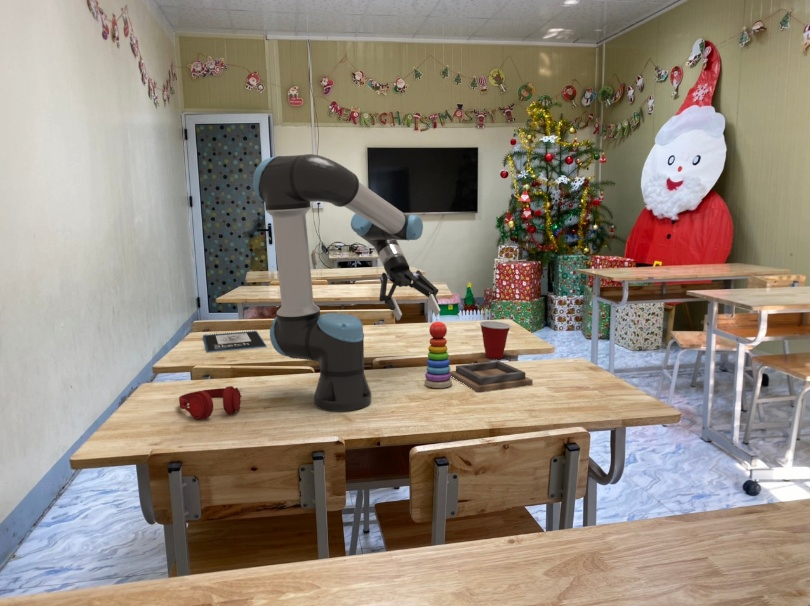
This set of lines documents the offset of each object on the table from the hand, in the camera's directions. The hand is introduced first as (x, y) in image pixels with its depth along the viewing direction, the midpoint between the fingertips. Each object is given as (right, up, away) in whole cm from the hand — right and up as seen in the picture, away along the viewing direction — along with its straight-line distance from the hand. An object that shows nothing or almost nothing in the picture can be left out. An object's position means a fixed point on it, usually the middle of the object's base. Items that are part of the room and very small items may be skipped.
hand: (419, 315), depth 179 cm
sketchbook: (-72, -12, +54) cm, 91 cm away
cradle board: (+21, -19, -2) cm, 29 cm away
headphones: (-55, -24, -24) cm, 65 cm away
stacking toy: (+6, -20, -6) cm, 22 cm away
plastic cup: (+27, -15, +26) cm, 40 cm away
